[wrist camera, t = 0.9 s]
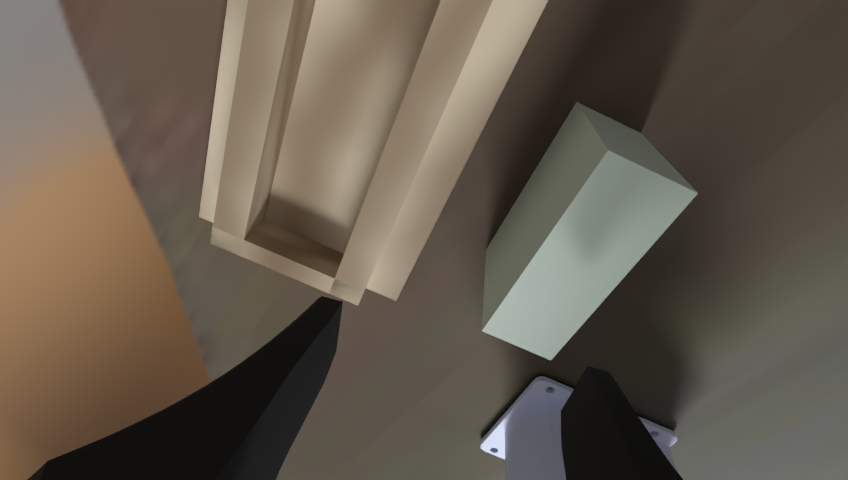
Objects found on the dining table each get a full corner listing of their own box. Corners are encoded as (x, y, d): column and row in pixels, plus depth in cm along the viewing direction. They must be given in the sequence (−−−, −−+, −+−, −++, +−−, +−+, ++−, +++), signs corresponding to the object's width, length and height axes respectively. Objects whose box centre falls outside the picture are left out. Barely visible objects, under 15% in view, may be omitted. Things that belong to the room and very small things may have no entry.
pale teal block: (640, 132, 18) (698, 193, 12) (538, 272, 22) (550, 360, 17) (576, 101, 17) (608, 150, 12) (486, 248, 21) (481, 330, 16)
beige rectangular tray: (574, -58, 15) (590, -67, 12) (399, 289, 24) (387, 326, 21) (272, -214, 14) (221, -259, 11) (210, 208, 23) (173, 236, 20)
